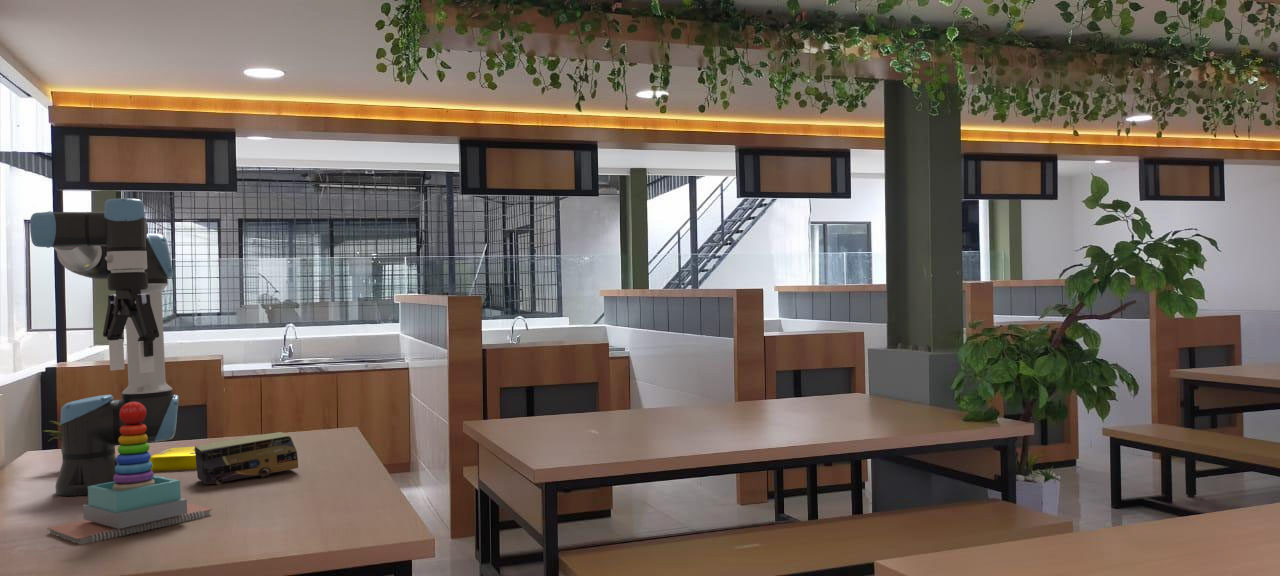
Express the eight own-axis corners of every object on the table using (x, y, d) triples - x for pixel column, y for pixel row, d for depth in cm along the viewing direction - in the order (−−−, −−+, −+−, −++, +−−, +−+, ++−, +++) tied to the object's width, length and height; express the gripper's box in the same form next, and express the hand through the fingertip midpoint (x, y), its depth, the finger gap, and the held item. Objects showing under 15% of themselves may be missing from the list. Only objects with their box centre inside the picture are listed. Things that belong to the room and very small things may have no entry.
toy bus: (299, 472, 252) (295, 434, 252) (204, 490, 239) (200, 450, 239) (289, 466, 260) (286, 430, 260) (197, 483, 247) (194, 445, 247)
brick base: (83, 519, 201) (82, 486, 201) (150, 504, 212) (149, 473, 212) (118, 529, 191) (117, 494, 191) (187, 513, 202) (185, 480, 202)
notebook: (79, 548, 187) (79, 538, 187) (47, 536, 198) (46, 526, 198) (215, 517, 208) (214, 508, 208) (178, 508, 219) (178, 499, 219)
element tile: (169, 462, 278) (168, 446, 278) (222, 460, 279) (221, 443, 279) (146, 473, 263) (145, 455, 263) (201, 470, 264) (200, 453, 264)
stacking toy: (137, 494, 197) (133, 404, 196) (103, 494, 198) (99, 404, 198) (163, 486, 204) (159, 399, 204) (131, 486, 206) (127, 399, 206)
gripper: (82, 273, 207) (87, 370, 207) (136, 270, 192) (141, 375, 192) (118, 272, 213) (123, 367, 213) (174, 269, 198) (178, 371, 198)
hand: (132, 371), depth 203 cm, fingers open, 13 cm apart
